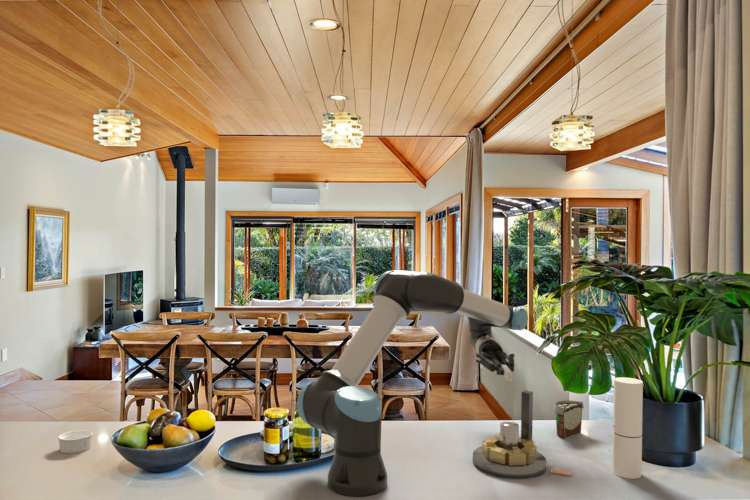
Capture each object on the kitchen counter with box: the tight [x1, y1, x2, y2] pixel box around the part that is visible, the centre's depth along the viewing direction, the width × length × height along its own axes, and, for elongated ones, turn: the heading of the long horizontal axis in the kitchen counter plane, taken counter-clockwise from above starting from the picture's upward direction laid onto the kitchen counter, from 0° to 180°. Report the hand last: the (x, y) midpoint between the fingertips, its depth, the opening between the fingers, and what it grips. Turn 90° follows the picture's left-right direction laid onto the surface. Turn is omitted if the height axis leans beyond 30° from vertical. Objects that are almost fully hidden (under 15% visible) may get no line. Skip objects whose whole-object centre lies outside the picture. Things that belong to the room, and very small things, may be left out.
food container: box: [552, 399, 584, 440], centre depth 182 cm, size 12×6×10 cm, turn 130°
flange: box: [472, 421, 548, 480], centre depth 156 cm, size 20×20×11 cm
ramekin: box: [57, 429, 94, 455], centre depth 164 cm, size 9×9×4 cm
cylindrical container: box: [611, 376, 644, 480], centre depth 151 cm, size 7×7×25 cm
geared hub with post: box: [481, 390, 538, 465], centre depth 158 cm, size 19×14×16 cm
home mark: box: [550, 468, 573, 477], centre depth 150 cm, size 5×2×1 cm, turn 65°
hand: (509, 377), depth 166 cm, fingers closed
